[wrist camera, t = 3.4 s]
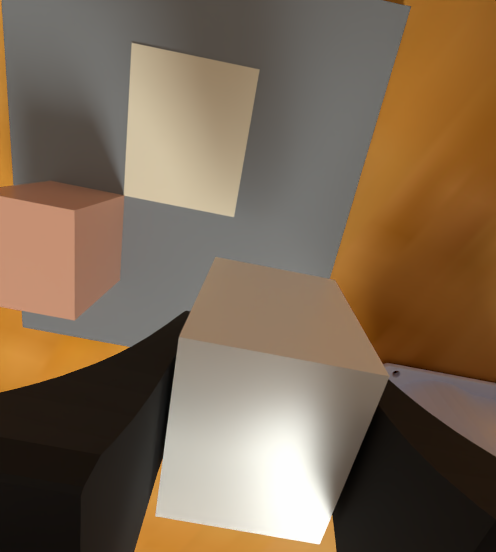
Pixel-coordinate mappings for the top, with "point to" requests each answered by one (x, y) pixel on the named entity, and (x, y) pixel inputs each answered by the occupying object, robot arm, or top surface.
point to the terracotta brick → (58, 247)
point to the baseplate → (198, 133)
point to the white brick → (267, 403)
